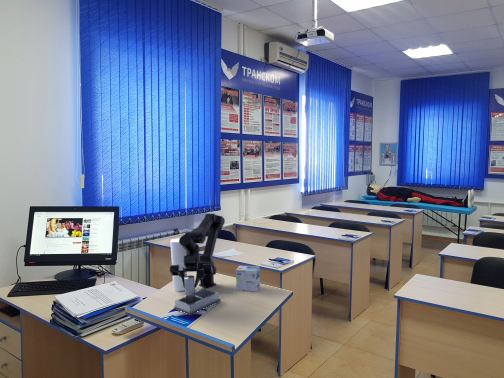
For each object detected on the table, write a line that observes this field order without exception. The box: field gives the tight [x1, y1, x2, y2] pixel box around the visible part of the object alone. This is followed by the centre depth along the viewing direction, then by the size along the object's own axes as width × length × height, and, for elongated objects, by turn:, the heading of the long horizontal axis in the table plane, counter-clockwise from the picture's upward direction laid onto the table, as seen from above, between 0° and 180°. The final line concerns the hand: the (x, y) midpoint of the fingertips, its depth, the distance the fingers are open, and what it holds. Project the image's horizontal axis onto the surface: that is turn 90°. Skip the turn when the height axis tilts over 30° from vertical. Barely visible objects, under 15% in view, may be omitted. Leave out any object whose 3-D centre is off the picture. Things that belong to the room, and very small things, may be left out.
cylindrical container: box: [169, 237, 188, 292], centre depth 187 cm, size 7×7×25 cm
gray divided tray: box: [173, 287, 221, 316], centre depth 168 cm, size 18×11×4 cm, turn 140°
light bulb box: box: [235, 264, 261, 293], centre depth 185 cm, size 11×7×11 cm, turn 74°
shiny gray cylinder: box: [184, 274, 196, 305], centre depth 164 cm, size 4×4×12 cm
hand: (189, 287), depth 164 cm, fingers closed on shiny gray cylinder, 4 cm apart
